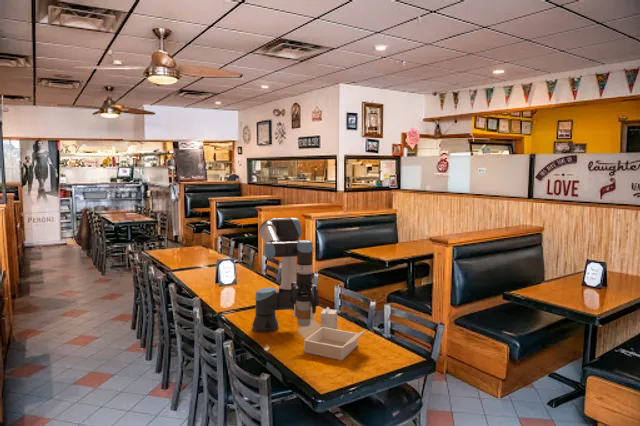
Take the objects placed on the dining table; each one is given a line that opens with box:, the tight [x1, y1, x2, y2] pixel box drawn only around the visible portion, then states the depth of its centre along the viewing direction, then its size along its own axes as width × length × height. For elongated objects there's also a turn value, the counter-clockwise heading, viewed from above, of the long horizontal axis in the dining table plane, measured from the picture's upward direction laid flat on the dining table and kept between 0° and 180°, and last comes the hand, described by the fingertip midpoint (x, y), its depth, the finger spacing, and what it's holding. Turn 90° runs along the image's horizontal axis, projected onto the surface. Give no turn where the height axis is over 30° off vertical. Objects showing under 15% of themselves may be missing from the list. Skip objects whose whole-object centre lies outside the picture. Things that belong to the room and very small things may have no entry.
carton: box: [303, 327, 359, 361], centre depth 237 cm, size 21×22×6 cm
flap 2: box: [344, 328, 369, 347], centre depth 230 cm, size 6×19×1 cm
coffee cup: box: [296, 292, 312, 327], centre depth 221 cm, size 8×8×15 cm
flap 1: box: [296, 318, 321, 340], centre depth 242 cm, size 6×19×1 cm
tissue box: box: [320, 306, 338, 330], centre depth 262 cm, size 9×8×13 cm
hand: (304, 317), depth 222 cm, fingers closed on coffee cup, 8 cm apart
